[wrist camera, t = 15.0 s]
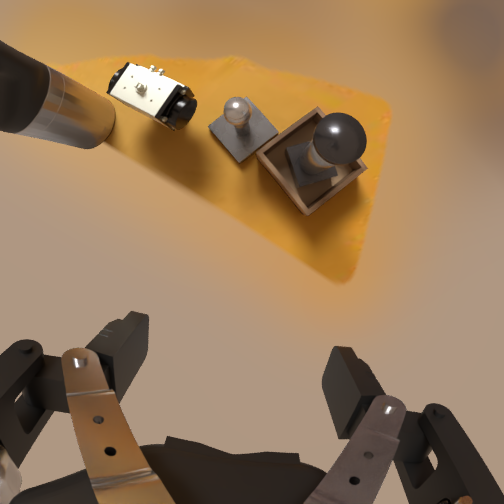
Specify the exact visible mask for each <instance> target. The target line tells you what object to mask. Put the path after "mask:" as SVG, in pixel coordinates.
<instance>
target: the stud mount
mask: <svg viewBox="0 0 504 504" xmlns="http://www.w3.org/2000/svg"><path fill="white" fill-rule="evenodd" d="M223 113H224V114H223V115H222V116H220V117H219V118H218V119H216V120H215V121H214V122H213V123H211V124H210V125H209V126H208V127H209V129H210V130H211V131H212V132H213V133H214V134H215V136H216V137H217V138H218V139H219V140H220V141H221V143H222V144H223V145H224V146H225V147H226V148H227V150H228V151H229V152H230V153H231V154H232V155H233V157H234V158H235V159H236V160H237V161H238V162H239V164H240V163H241V162H243V161H244V160H245V159H246V158H248V157H249V156H250V155H251V154H253V153H254V152H255V151H257V150H258V149H259V148H260V147H262V146H263V145H264V144H266V143H267V142H268V141H270V140H271V139H272V138H273V137H275V136H276V135H277V134H278V133H279V132H278V131H277V130H276V128H275V127H274V126H273V125H272V124H271V123H270V122H269V120H268V119H267V118H266V117H265V116H264V115H263V114H262V113H261V112H260V110H259V109H258V108H257V107H256V106H255V105H254V104H253V103H252V102H251V101H250V100H249V99H248V98H247V97H245V98H244V99H243V98H241V97H233V98H231V99H229V100H228V101H227V102H226V103H225V106H224V111H223Z"/></svg>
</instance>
